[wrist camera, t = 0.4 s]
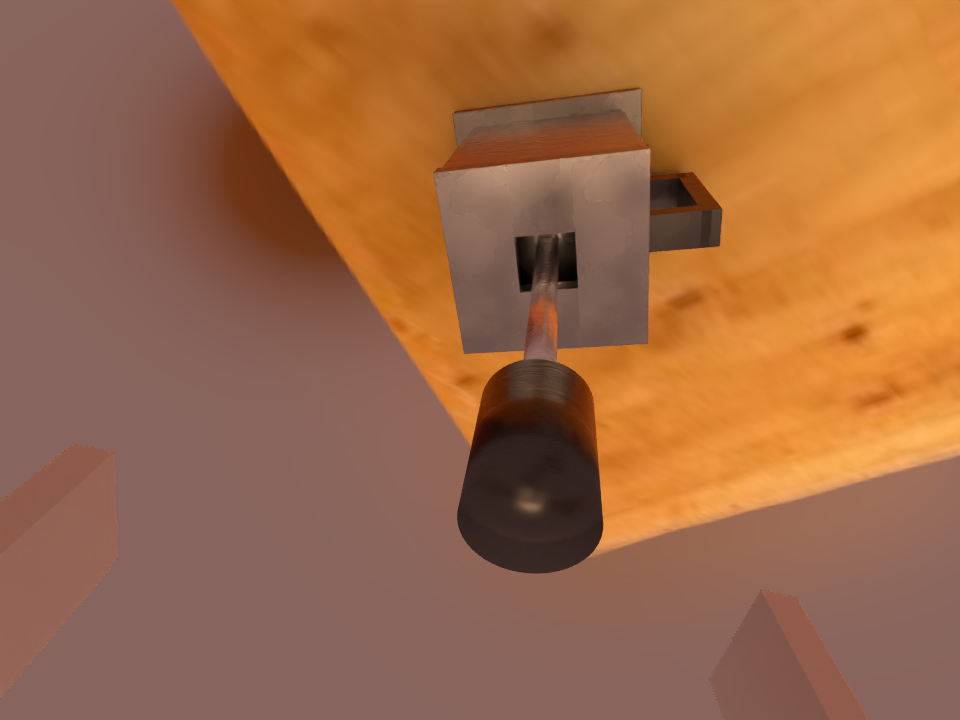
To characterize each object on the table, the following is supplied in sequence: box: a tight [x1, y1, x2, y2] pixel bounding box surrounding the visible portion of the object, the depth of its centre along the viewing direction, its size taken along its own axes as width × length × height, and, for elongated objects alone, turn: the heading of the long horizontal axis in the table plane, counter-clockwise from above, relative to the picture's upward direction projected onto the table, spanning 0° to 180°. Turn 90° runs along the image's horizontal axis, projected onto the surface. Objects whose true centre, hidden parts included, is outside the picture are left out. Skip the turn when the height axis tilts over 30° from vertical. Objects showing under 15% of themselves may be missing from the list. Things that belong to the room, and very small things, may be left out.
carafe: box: [434, 88, 722, 354], centre depth 35 cm, size 15×12×14 cm
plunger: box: [457, 232, 603, 573], centre depth 24 cm, size 8×8×22 cm
